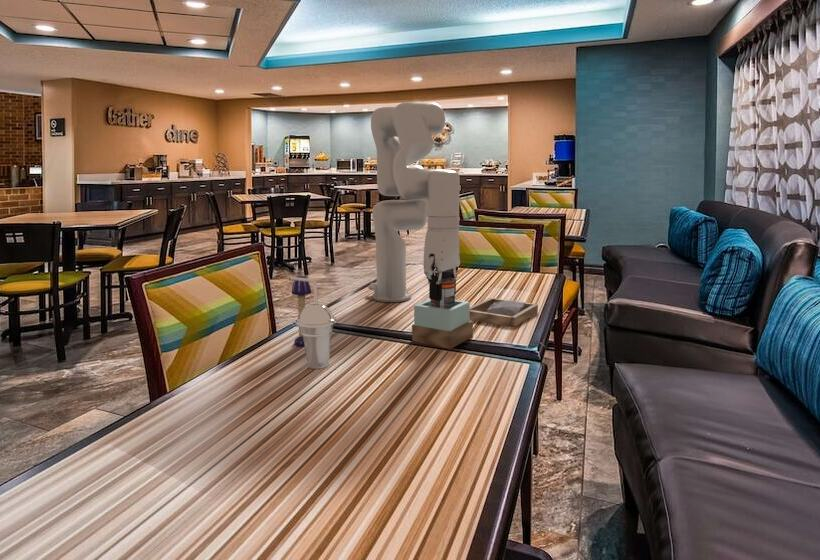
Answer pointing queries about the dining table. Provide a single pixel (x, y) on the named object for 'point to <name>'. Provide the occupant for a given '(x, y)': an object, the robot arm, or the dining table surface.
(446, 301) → the supplement bottle
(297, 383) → the dining table surface
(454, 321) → the tower top
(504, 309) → the stone block
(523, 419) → the dining table surface
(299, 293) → the toy lamp
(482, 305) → the frame
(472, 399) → the dining table surface
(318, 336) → the cup with straw
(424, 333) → the tower base
